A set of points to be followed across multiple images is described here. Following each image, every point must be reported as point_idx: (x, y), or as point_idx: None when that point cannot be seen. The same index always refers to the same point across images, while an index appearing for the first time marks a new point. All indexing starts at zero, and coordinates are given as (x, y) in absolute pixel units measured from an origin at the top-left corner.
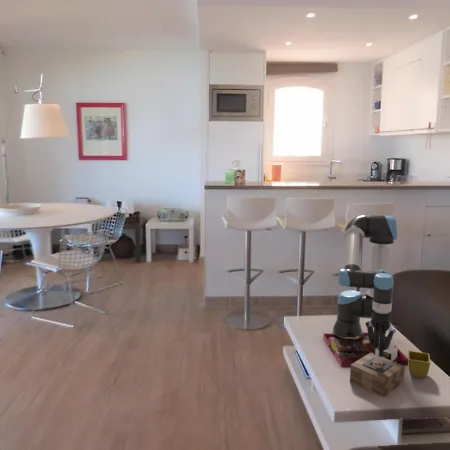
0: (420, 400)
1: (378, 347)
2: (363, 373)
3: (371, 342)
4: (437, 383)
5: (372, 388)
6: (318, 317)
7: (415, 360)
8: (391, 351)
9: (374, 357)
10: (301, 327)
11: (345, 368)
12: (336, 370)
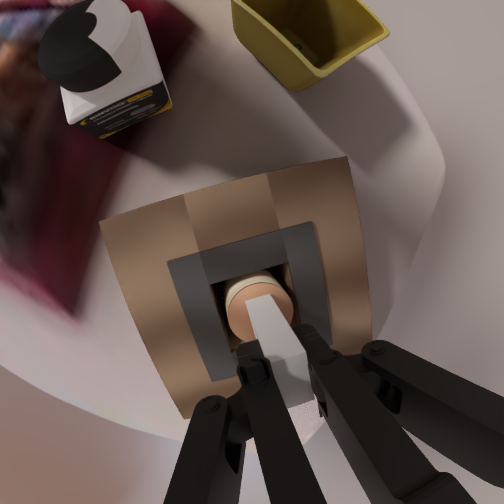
0: (409, 212)
1: (279, 377)
2: None
3: (238, 456)
4: (364, 58)
5: None
6: None
7: (347, 61)
8: (146, 63)
9: (173, 261)
10: None
11: (91, 313)
12: (96, 354)
